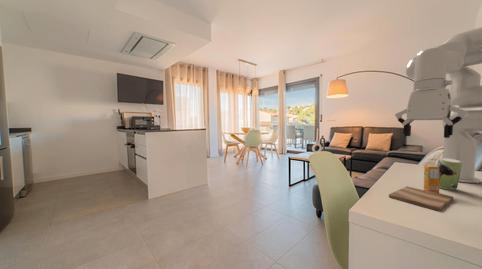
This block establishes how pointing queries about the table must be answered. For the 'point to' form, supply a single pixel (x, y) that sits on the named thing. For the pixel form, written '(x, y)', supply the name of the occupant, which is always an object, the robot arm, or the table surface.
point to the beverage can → (449, 173)
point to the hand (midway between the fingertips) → (425, 136)
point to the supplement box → (431, 178)
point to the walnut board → (422, 198)
